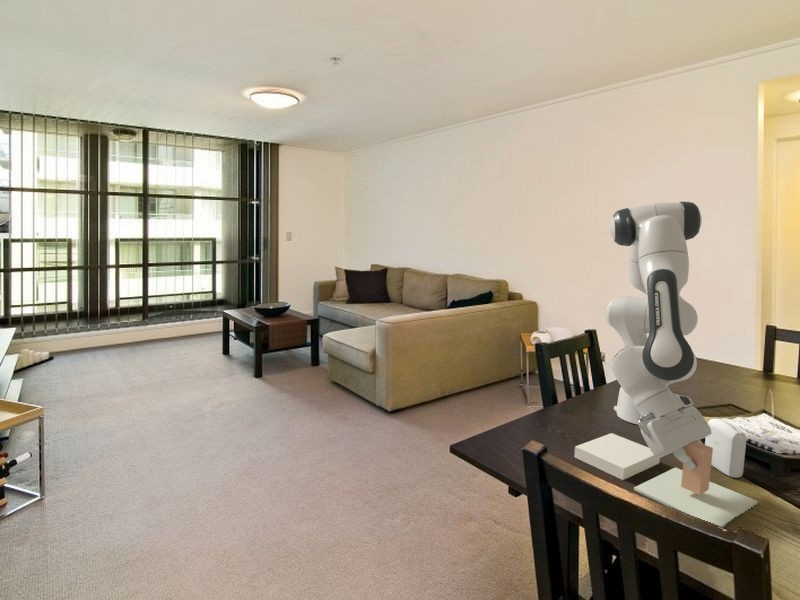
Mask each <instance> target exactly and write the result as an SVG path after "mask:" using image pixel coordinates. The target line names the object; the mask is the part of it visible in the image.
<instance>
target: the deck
mask: <svg viewBox="0 0 800 600" xmlns="http://www.w3.org/2000/svg"><path fill="white" fill-rule="evenodd" d="M573 458H575V459H578V460H579V461H581V462H584V463H586V464H588V465H591V466H592V467H595V468H597V469H599V470H601V471H603V472H604V473H607V474H609V475H610V476H614V477H616V478H617V479H620V480H622V481H624V480H627V479H629V478H631V477H633V476H635V475H637V474H640V473H642V472H643V471H646V470H648V469H650V468H653V467H655V466H657V465H659V464H660V462H661V461H660V460H661V458H658V457H656V456H655V455H654V454H653V453H652V451H651V450H650V448H649V446H645V445H643V444H640V443H637V442H635V441H633V440H630V439H628V438H625V437H622V436H620V435H619V434H618V435H617V434H615V433H612V432H611V433H608V434H605V435H603V436H600V437H597V438H595V439H592V440H590V441H586V442H584V443H581V444H578V445H576V446H574V457H573Z"/></svg>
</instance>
